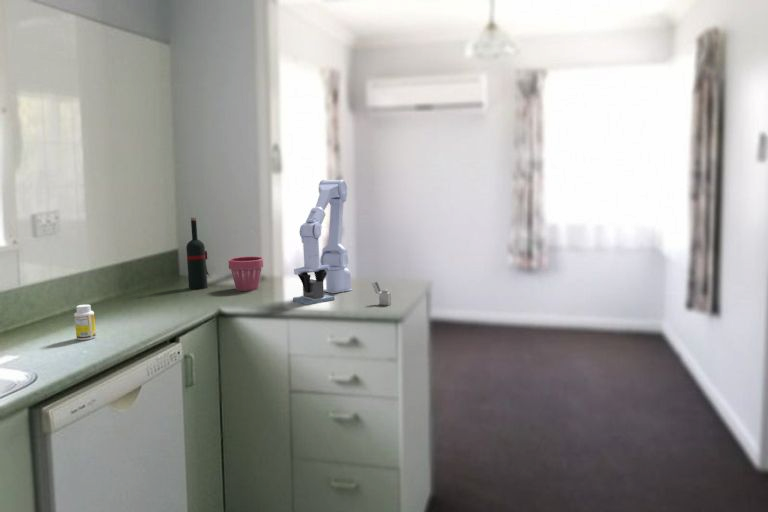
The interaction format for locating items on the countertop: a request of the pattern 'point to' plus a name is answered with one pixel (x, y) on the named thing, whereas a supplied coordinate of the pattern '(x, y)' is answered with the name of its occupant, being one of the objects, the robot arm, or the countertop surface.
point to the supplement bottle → (85, 323)
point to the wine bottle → (196, 260)
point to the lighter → (382, 294)
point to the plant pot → (246, 272)
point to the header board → (310, 301)
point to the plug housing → (315, 290)
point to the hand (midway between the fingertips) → (313, 291)
